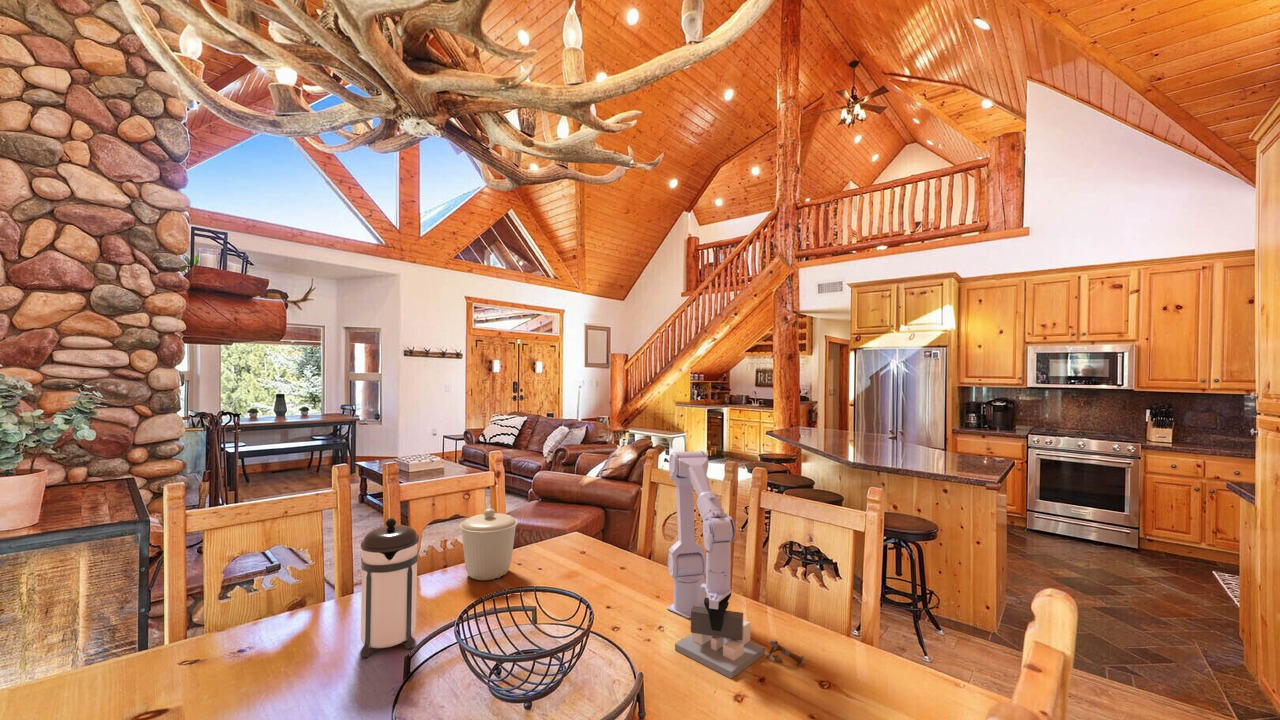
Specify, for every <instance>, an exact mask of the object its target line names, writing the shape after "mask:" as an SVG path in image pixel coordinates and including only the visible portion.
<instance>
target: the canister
mask: <svg viewBox="0 0 1280 720" xmlns="http://www.w3.org/2000/svg"><path fill="white" fill-rule="evenodd" d="M518 524H519V521H518V519H517V518H515V517H513V516H512V515H510V514H507V513H499V512H496V511H495V509H494V508H491V507H490V508H486V509H485V510H484V511H483V513H480V514H476V515H472V516H470V517H468V518H466V519H465V520H463V521H461V522H460V523H459V529H460V530H461V535H462V536H461V538H462V547H463V558H464V566H465V571H466V574H467V576H468V577H470V578H471V579H473V580H477V581H491V580H496V579H495V578H497V579H499V578H501V576H502V577H503V575H504V576H506V574H507V573H508V571H509V570H510V568H511V563H512V557H513V552H514V551H513V550H514V542H515V535H516V527H517V526H518Z"/></svg>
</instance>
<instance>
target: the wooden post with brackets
mask: <svg viewBox="0 0 1280 720" xmlns="http://www.w3.org/2000/svg"><path fill="white" fill-rule="evenodd" d="M769 644H770V645H771V648H770V650H769V651H768V652H767V654H766V659H770V657H772V658H773V659H774V661H777V662H778V663H783V659H782V656H778V653H776V654H773V653H774V652H777V651H780V652H781V654H783V655H784V656H787V658H791V659H792V660H793V661H795V662H796V663H797V664H798V666H799V665H800V666H801V667H802V665H803V663H804V661H805V658H804V656H803V655H801V656H798V655H796V654H794V653H792V652H791V650H788V649H787V648H785V647H783V646H781V645H780V644H779V643H778V641H777V640H774V639H773V640H769ZM800 666H799V667H800Z"/></svg>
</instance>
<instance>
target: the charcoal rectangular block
mask: <svg viewBox="0 0 1280 720" xmlns="http://www.w3.org/2000/svg"><path fill="white" fill-rule="evenodd" d="M743 619H744V612H740V611H732V610H726V611H725V613H724V618H723V624H722V628H721V631H715V630H712V628H711V624H710V618H709V614H708V611H707V609H706V608H705V607H698V606H693V608H692V610H691V618H690V634H692V633H697V634H703V635H709V636H716V637H722V638H728V639H735V640H741V641H742V639H743Z"/></svg>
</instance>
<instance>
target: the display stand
mask: <svg viewBox="0 0 1280 720" xmlns="http://www.w3.org/2000/svg"><path fill="white" fill-rule="evenodd" d="M765 648H766V647H765V646H763V645H760V644H758V643H756V642H754V641H751V621H748V620H747V619H744V618H743V639H742V641H741V640H735V639H728V638H722V637H716V636H709V635H703V634H697V633H690V635H689V634H688V635H687V636H686V637H684V638H682V639H681V640H679V641H677V642H676V643H675V644H674V650H675V651H676V652H677V653H679V654H682V655H684V656H686V657H688V658H690V659H692V660H694V661H695V662H697V663H699V664H701V665H703V666H705V667H707V668H709V669H711V670H713V671H715V672H717V673H719V674H720V675H723V676H725V677H727V678H728V679H733V678H734V677H736V676H737V675H739V674H740V673H741V672H742V671H744V670H745V669H746V668H748V667H749V666H751V665H752V664H753V663H754V662H756V661H757V660H759V659H760V658H761V657H762V656H764V655H765V654H766V651H765V650H766V649H765Z"/></svg>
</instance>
